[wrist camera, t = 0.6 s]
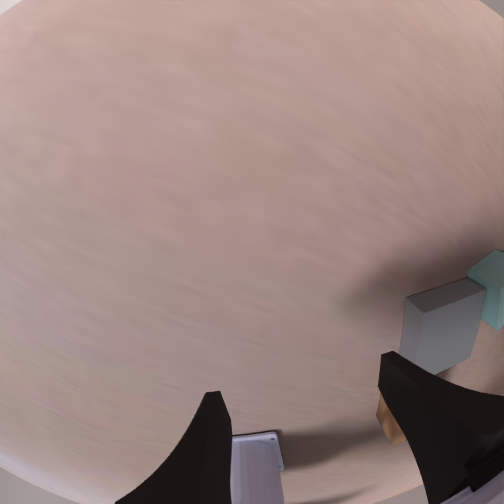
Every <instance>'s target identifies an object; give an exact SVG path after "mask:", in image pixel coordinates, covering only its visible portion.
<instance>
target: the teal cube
mask: <svg viewBox="0 0 504 504" xmlns="http://www.w3.org/2000/svg"><path fill="white" fill-rule="evenodd" d="M467 273H468V278H469V279H470V280H472V281H474V282H476V283H477V284H479V285H480V286H482V287H484V288H485V289H486V293H485V299H484V304H483V309H482V313H481V318H480V319H482V320H483V321H484V322H486V323H487V324H488V325H490V326H491V327H492V328H493V329H495V330H496V331H498V330H499V329H500V328H501V327H502V326H503V325H504V253H503V252H501V251H499V250H497V249H495V250H494V251H492V252H491V253H490V254H489V255H487V256H486V257H485V258H483V259H482V260H481V261H479V262H478V263H477V264H475V265H474V266H472V267H471V268H470V269H468V270H467Z"/></svg>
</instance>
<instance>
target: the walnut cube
mask: <svg viewBox="0 0 504 504" xmlns="http://www.w3.org/2000/svg"><path fill="white" fill-rule="evenodd" d="M376 416H377V418H378V420H379V422H380V424H381V426H382V428H383V430H384V432H385V434H386V436H387V438H388V440H389V442H390V444H391V446H393V445H395V444H398V443H400V442H403V441H405V440H407V439H406V437H405V435H404V433H403V432H402V430H401V428H400V427H399V425H398V423H397V422H396V420H395V419H394V417H393V415H392V414H391V412H390V410H389V409H388V407H387V405H386V404H385V401H384V399H383V397H382V395H381V394H380V400H379V405H378V410H377V415H376Z"/></svg>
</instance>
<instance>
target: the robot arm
mask: <svg viewBox="0 0 504 504" xmlns="http://www.w3.org/2000/svg"><path fill="white" fill-rule="evenodd" d="M378 387H379V390H380V392H381V395H382V397H383V399H384V401H385V404H386V405H387V407H388V409H389V410H390V412H391V414H392V415H393V417H394V419H395V420H396V422H397V423H398V425H399V427H400V428H401V430H402V432H403V433H404V435H405V437H406V439H407V441H408V443H409V445H410V447H411V450H412V452H413V454H414V457H415V459H416V462H417V465H418V468H419V470H420V473H421V477H422V480H423V483H424V486H425V490H426V494H427V499H428V503H429V504H504V396H500V395H493V394H487V393H482V392H478V391H474V390H470V389H467V388H464V387H461V386H458V385H455V384H453V383H450V382H448V381H446V380H444V379H441V378H439V377H437V376H435V375H433V374H431V373H430V372H428V371H426V370H424V369H422V368H421V367H419V366H417V365H416V364H414V363H412V362H411V361H409V360H407V359H406V358H404V357H403V356H401V355H399V354H398V353H396V352H394V351H391V352H388V353H385V354H382V355H381V364H380V373H379V382H378ZM283 470H284V465H283V461H282V456H281V451H280V447H279V442H278V437H277V433H276V432H266V433H260V434H252V435H244V436H235V437H232V426H231V418H230V416H229V413H228V411H227V408H226V405H225V403H224V400H223V398H222V395H221V392H220V391H214V392H206V393H205V395H204V397H203V399H202V401H201V404H200V406H199V408H198V410H197V412H196V414H195V416H194V418H193V420H192V421H191V423H190V425H189V427H188V429H187V430H186V432H185V433H184V435H183V437H182V438H181V440H180V441H179V443H178V444H177V446H176V447H175V448H174V450H173V451H172V452H171V454H170V455H169V456H168V457H167V459H166V460H165V461H164V462H163V463H162V464H161V465H160V467H159V468H158V469H157V470H156V471H155V472H154V473H153V474H152V475H151V476H150V477H149V478H147V479H146V480H145V481H144V482H143V483H142V484H140V485H139V486H138V487H137V488H136V489H134V490H133V491H131V492H130V493H128V494H127V495H126V496H124V497H123V498H121V499H119V500H118V501H116V502H115V504H285V502H284V496H283V489H282V483H281V476H280V471H283Z"/></svg>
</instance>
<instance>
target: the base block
mask: <svg viewBox="0 0 504 504" xmlns="http://www.w3.org/2000/svg"><path fill="white" fill-rule="evenodd" d="M485 293H486V289H485V288H484V287H482V286H480V285H479V284H477V283H476V282H474V281H472V280H470V279H469V278H464V279H462V280H459V281H456V282H453V283H450V284H447V285H444V286H441V287H438V288H435V289H432V290H429V291H425V292H422V293H419V294H416V295H412V296H409V297H406V298H405V309H404V319H403V329H402V337H401V345H400V352H399V355H401V356H403V357H404V358H406V359H407V360H409V361H411V362H412V363H414V364H416V365H417V366H419V367H421V368H422V369H424V370H426V371H428V372H430V373H431V374H433V375H435V374H437V373H439V372H442V371H444V370H446V369H448V368H450V367H452V366H454V365H456V364H458V363H460V362H462V361H464V360H466V359H468V358H470V355H471V352H472V348H473V345H474V341H475V338H476V334H477V330H478V326H479V322H480V318H481V313H482V309H483V304H484V299H485Z"/></svg>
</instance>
